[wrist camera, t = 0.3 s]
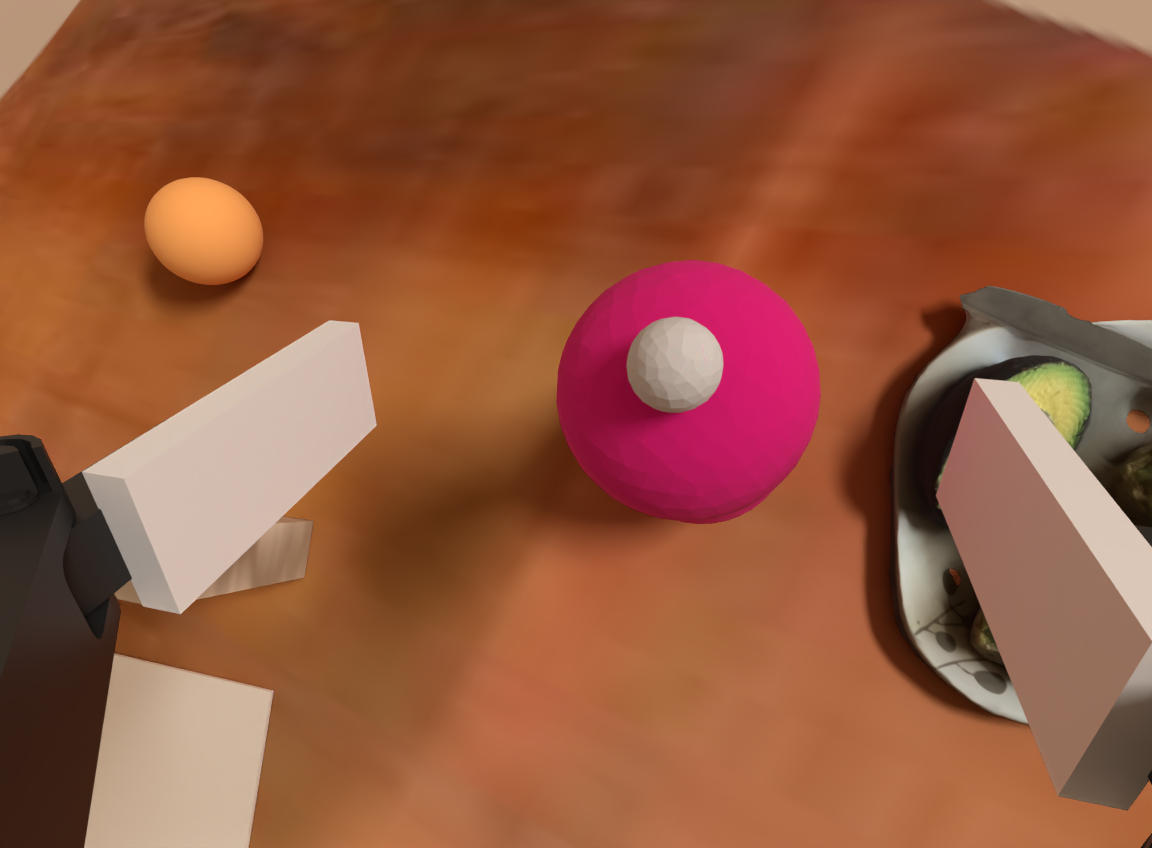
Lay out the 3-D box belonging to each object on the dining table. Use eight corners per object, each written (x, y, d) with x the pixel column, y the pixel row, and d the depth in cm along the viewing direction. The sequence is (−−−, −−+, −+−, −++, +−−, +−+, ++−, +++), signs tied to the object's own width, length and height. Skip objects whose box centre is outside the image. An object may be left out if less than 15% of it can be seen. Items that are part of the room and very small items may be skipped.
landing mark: (232, 950, 33) (229, 953, 33) (33, 882, 36) (30, 884, 36) (273, 690, 34) (271, 691, 34) (77, 644, 37) (74, 645, 37)
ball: (276, 300, 36) (200, 267, 31) (195, 294, 38) (108, 262, 32) (292, 206, 37) (219, 158, 32) (210, 203, 38) (128, 156, 33)
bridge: (304, 577, 34) (158, 607, 25) (86, 537, 38) (-112, 551, 29) (313, 520, 35) (171, 530, 26) (95, 485, 38) (-98, 483, 29)
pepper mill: (596, 451, 32) (398, 385, 12) (692, 336, 31) (647, 79, 12) (712, 552, 30) (697, 662, 11) (816, 432, 30) (1000, 317, 10)
